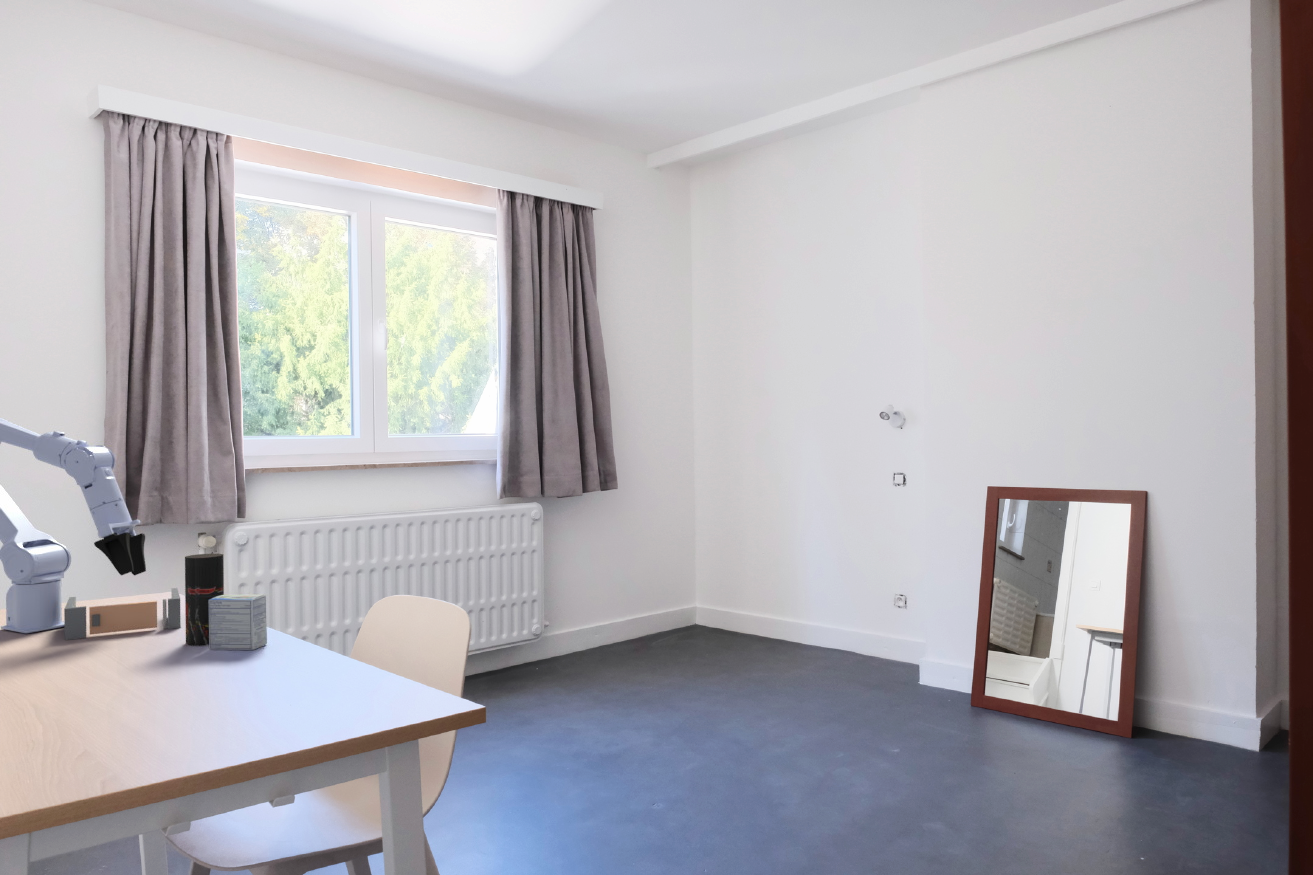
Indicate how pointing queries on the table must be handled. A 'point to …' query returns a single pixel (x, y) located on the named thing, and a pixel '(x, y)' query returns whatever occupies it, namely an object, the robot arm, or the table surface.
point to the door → (123, 617)
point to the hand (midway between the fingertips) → (133, 573)
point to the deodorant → (201, 594)
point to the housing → (77, 616)
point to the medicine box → (237, 622)
